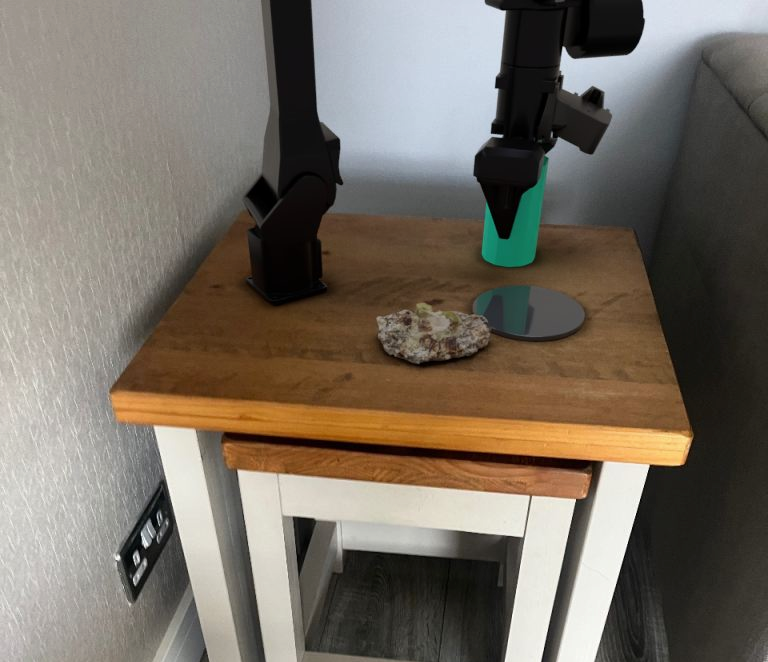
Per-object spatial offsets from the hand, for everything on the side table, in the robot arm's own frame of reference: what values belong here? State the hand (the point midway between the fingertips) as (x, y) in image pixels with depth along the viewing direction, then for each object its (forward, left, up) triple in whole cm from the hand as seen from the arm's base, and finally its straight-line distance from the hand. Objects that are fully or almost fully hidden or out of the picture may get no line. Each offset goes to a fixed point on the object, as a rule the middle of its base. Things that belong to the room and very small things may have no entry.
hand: (511, 223), depth 85 cm
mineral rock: (-19, -12, -4) cm, 23 cm away
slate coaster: (-7, -12, -4) cm, 15 cm away
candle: (0, 0, -4) cm, 4 cm away
